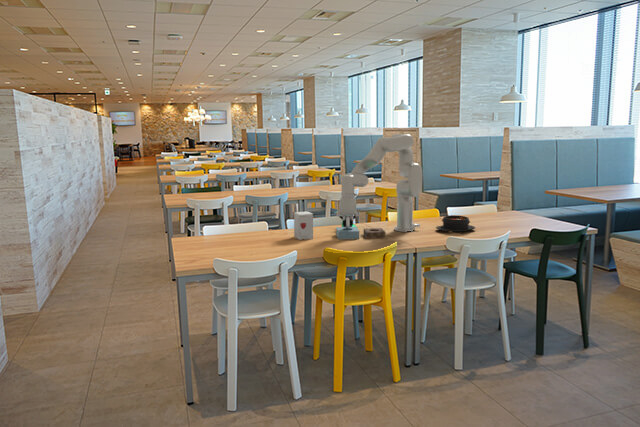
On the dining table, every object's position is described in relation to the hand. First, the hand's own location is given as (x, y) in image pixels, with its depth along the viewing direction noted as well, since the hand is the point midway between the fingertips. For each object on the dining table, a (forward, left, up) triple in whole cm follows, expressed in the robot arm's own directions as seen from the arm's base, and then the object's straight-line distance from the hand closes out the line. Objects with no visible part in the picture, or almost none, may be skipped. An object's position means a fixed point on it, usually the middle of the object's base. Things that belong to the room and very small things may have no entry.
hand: (347, 226), depth 287 cm
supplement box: (+26, 0, -6) cm, 27 cm away
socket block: (0, 0, -6) cm, 6 cm away
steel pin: (0, 0, -5) cm, 5 cm away
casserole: (-69, -9, -7) cm, 70 cm away
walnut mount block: (-16, 0, -6) cm, 17 cm away
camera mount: (-4, -19, -7) cm, 20 cm away
